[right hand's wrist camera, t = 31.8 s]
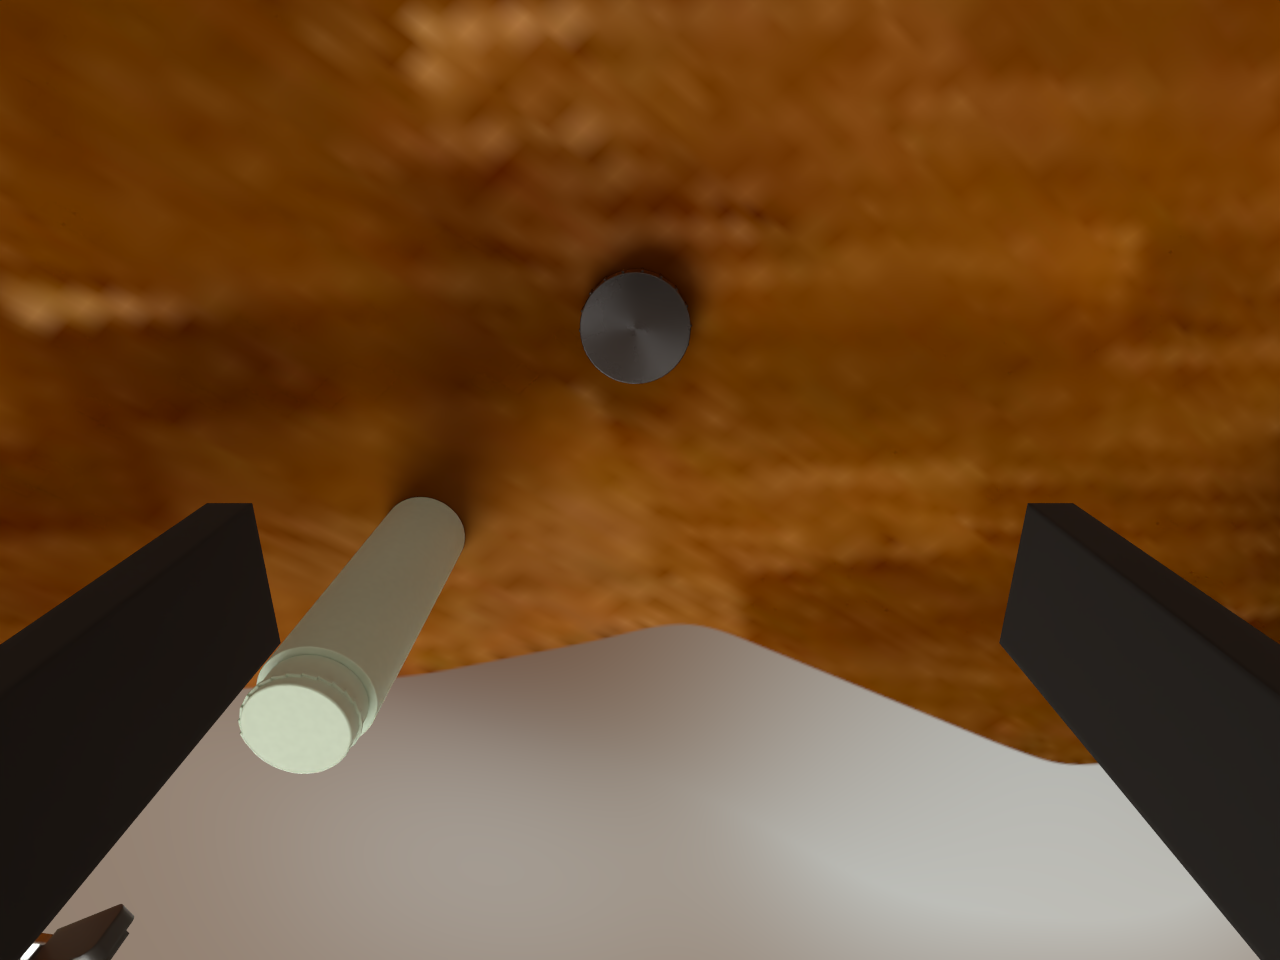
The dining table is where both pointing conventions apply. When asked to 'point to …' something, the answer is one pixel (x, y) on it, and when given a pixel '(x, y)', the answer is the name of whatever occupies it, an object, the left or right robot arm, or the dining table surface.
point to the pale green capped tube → (352, 642)
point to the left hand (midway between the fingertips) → (40, 858)
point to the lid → (635, 326)
